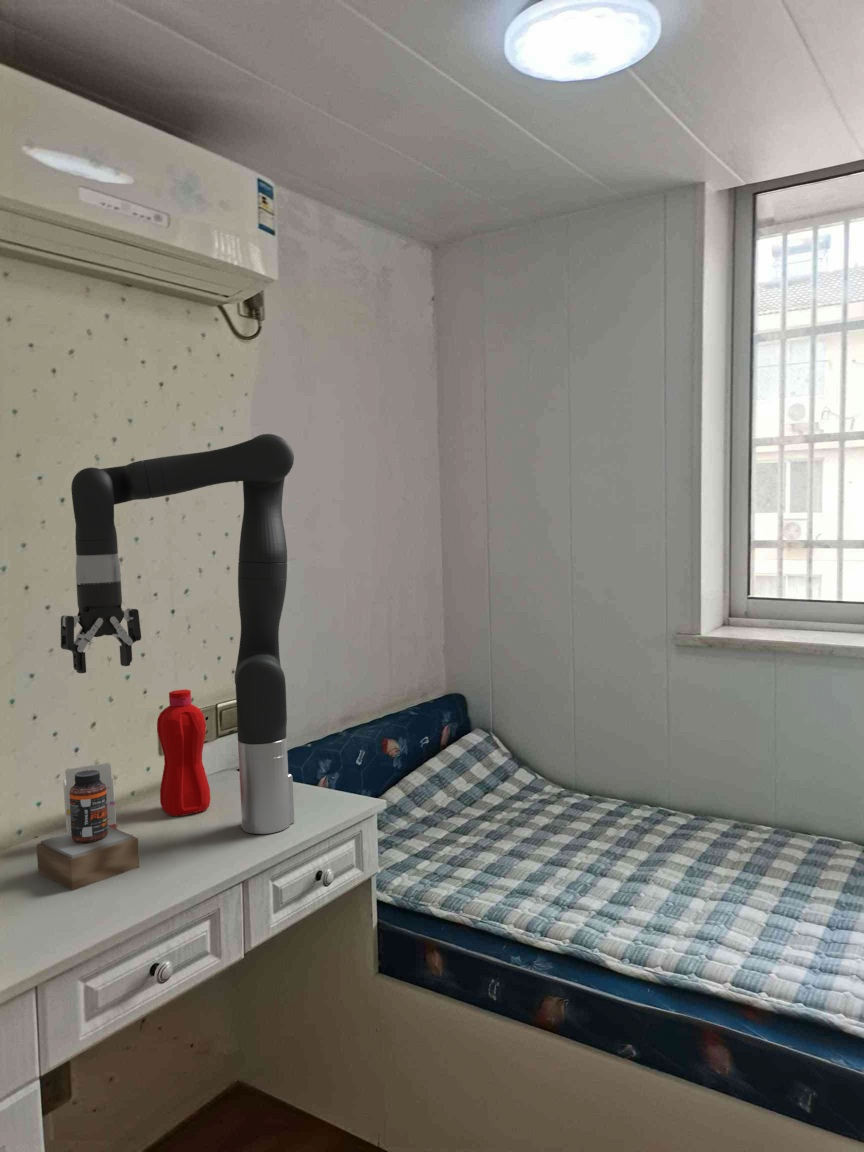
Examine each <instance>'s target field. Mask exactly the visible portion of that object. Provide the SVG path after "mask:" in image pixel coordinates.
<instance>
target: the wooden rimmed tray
mask: <svg viewBox="0 0 864 1152" xmlns="http://www.w3.org/2000/svg"><path fill="white" fill-rule="evenodd" d="M139 851H140V850H139V838H138V837H135V836H134V835H132V834H130V833H127V832H125V831H123V830H119V829H118V828H117V829H115V828H112V827H109V826H108V834H107V836H105V837H104V838H102V839H100V840H97V841H92V842H77V841H74V840H73V839H72V834H71V832H70V833H67V832H66V833H64V834H61V835H57V836H54V837H50V838H47V839H44V840H40V843H37V844H36V858H37V873H38V874H39V875H42V876H44V877H46V878H47V879H50V880H52V881H53V882H56V883H58V884H59V885H62V886H64V888H65V887H66V888H68V889H70V890H72V891H74V890H77V889H80V888H82V887H85V886H86V887H87V886H88V885H91V884H94V883H98V882H100V881H103V880H106V879H108V878H111V877H115V876H117V875H120V874H123V873H125V871H126V872H129V871H131V869H132V870H134V868H135V869H137V868H140V855H139V854H140V852H139ZM136 867H137V868H136ZM128 870H129V871H128Z"/></svg>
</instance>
